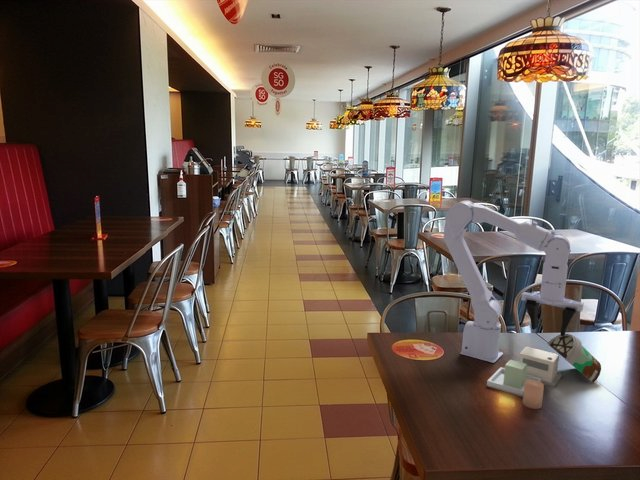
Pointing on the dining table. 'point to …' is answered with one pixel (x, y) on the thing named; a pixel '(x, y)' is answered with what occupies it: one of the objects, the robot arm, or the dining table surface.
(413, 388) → the dining table surface
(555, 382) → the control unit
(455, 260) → the robot arm
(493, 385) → the tray
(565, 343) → the food container
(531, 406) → the terracotta part
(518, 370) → the green part
